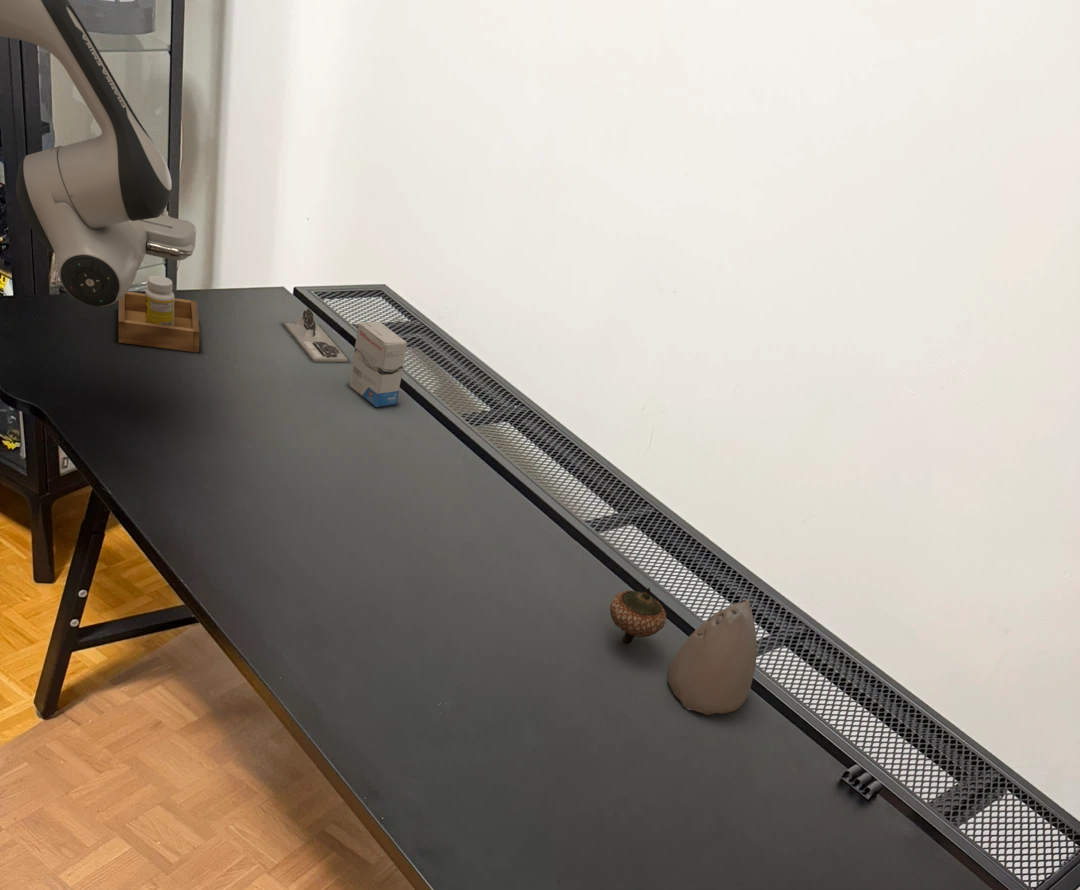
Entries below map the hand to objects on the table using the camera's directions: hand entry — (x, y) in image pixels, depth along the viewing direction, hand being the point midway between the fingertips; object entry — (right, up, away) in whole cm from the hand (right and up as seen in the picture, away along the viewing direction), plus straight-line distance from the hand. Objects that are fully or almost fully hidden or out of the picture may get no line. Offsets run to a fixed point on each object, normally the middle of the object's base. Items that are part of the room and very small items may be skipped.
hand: (129, 207), depth 151 cm
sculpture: (+84, -72, -8) cm, 111 cm away
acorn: (+73, -65, -5) cm, 98 cm away
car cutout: (+18, -5, +42) cm, 46 cm away
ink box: (+31, -18, +33) cm, 48 cm away
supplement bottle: (-6, -7, +29) cm, 30 cm away
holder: (-7, -7, +29) cm, 31 cm away
